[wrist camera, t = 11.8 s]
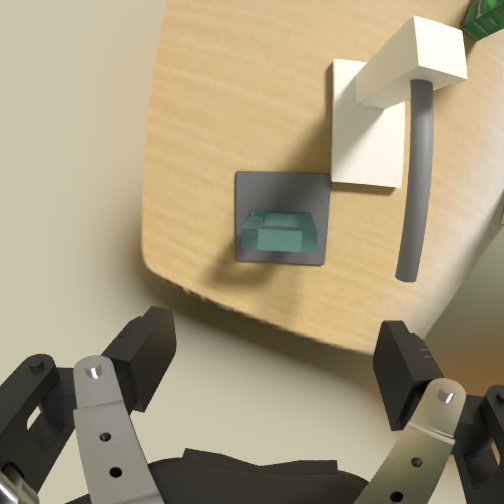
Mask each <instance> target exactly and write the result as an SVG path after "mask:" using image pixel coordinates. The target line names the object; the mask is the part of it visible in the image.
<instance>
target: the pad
mask: <svg viewBox="0 0 504 504" xmlns="http://www.w3.org/2000/svg"><path fill="white" fill-rule="evenodd" d="M330 185H331V175H321V174H305V173H285V172H258V171H237V174H236V260H240V261H259V262H278V263H297V264H318V265H324V261H325V251H326V240H327V228H328V215H329V201H330ZM252 210H274V211H295V212H311V215H312V217H313V220H314V222H315V225H316V227H317V230H318V243H317V253H308V252H288V251H268V250H248V249H242V228H243V226H244V224H245V222H246V221H247V219H248V217H249V216H251V212H252Z"/></svg>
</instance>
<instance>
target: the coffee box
mask: <svg viewBox="0 0 504 504" xmlns="http://www.w3.org/2000/svg"><path fill="white" fill-rule="evenodd" d="M461 27H462V29H463V30H465V31H466V32H467V33H468V34H469V35H470V36H471V37H473V38H474V39H475V40H477V41H479V40H481V39H483V38H484V37H487V36H489V35H491V34H493V33H495V32H497V31H499V30H501V29H503V28H504V0H472V2H471V4H470V7H469V9H468V11H467V14H466V16H465V18H464V21H463V23H462V26H461Z"/></svg>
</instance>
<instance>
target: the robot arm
mask: <svg viewBox="0 0 504 504" xmlns="http://www.w3.org/2000/svg"><path fill="white" fill-rule="evenodd" d="M175 352H176V335H175V326H174V317H173V311H172V309H171V308H168V307H160V306H151V307H150V308H149V310H148V311H147V312H146V313H145V314H144V316H143V317H141V316H139V317H137V318H135V319H133V320H132V321H130V322H129V323H128V324H127V325H126V326H125V327H124V328H123V331H121V332H120V333H119V334H118V336H117V337H116V338H115V339H114V340H113V341H112V342H111V343H110V345H109V346H108V347H107V348H106V349H105V351H104V352H103V353H102V354H101V355H100V356H99V355H97V356H96V355H94V356H89V357H86V358H83V359H81V360H80V361H79V362H77V364H76V365H75V366H74V368H59V367H58V368H57V367H56V365H55V362H54V360H53V358H52V357H51V356H49V355H46V354H36V355H33V356H30V357H28V358H27V359H25V360H24V361H23V362H22V363H21V364H20V366H18V368H17V369H16V370H15V371H14V372H13V373H12V374H11V375H10V376H9V377H8V378H7V379H6V380H5V381H4V383H3V384H2V385H1V386H0V504H39V498H38V495H37V494H38V492H39V490H40V488H41V486H42V485H43V483H44V481H45V479H46V477H47V476H48V474H49V472H50V470H51V468H52V467H53V465H54V463H55V461H56V460H57V458H58V456H59V454H60V453H61V451H62V449H63V448H64V446H65V444H66V442H67V441H68V439H69V437H70V436H71V434H72V432H73V431H74V429H75V428H76V435H77V441H78V446H79V451H80V456H81V461H82V466H83V470H84V474H85V478H86V483H87V487H88V491H89V494H86V495H84V496H82V497H79V498H77V499H75V500H73V501H70V502H68V503H65V504H428V502H429V500H430V498H431V496H432V494H433V492H434V490H435V488H436V486H437V484H438V481H439V479H440V477H441V475H442V473H443V470H444V468H445V466H446V463H447V461H448V458H449V456H450V454H452V455H454V458H455V461H456V465H457V468H458V471H459V475H460V479H461V483H462V486H463V490H464V494H465V499H466V503H467V504H504V385H494V386H491V387H490V388H489V389H488V391H487V392H486V394H485V396H484V397H482V396H473V395H466V393H465V390H464V389H463V387H462V386H461V385H460V384H458V383H457V382H455V381H453V380H451V379H447V378H444V376H443V375H442V373H441V371H440V369H439V367H438V366H437V364H436V362H435V360H434V359H433V357H432V355H431V353H430V352H429V350H428V348H427V347H426V345H425V343H424V341H423V340H422V339H421V338H419V337H418V336H417V335H416V334H414V333H409V331H408V329H407V327H406V326H405V324H404V322H403V321H383V322H382V324H381V328H380V332H379V336H378V340H377V344H376V348H375V351H374V356H373V369H374V372H375V375H376V379H377V382H378V385H379V388H380V392H381V395H382V399H383V402H384V405H385V409H386V413H387V415H388V420H389V423H390V427H391V431H399V430H403V432H402V434H401V435H400V437H399V439H398V440H397V442H396V443H395V445H394V447H393V448H392V450H391V451H390V453H389V455H388V456H387V458H386V459H385V461H384V462H383V464H382V465H381V467H380V468H379V469H378V471H377V472H376V474H375V475H374V477H373V478H372V479H371V481H370V482H368V481H366V480H365V479H363V478H361V477H359V476H357V475H354V474H351V473H348V472H344V471H340V470H337V469H338V468H337V460H317V461H316V460H299V461H293V462H287V463H280V464H273V465H266V466H258V465H254V464H250V463H247V462H244V461H241V460H238V459H235V458H232V457H229V456H226V455H223V454H218V453H212V452H205V451H199V450H193V449H188V448H185V451H184V454H183V457H182V458H169V459H163V460H159V461H156V462H152V463H150V464H148V463H147V460H146V458H145V456H144V453H143V451H142V448H141V446H140V443H139V440H138V438H137V435H136V433H135V430H134V427H133V424H132V421H131V419H130V414H131V412H132V410H135V411H139V412H143V413H144V412H145V410H146V408H147V406H148V404H149V402H150V401H151V399H152V397H153V395H154V393H155V391H156V389H157V387H158V386H159V384H160V382H161V380H162V378H163V376H164V374H165V372H166V371H167V369H168V367H169V365H170V363H171V361H172V359H173V357H174V355H175ZM37 406H38V407H39V409H40V411H41V413H40V414H39V416H38V417H37V418H36V420H35V421H34V423H33V424H32V425H31V427H30V428H29V430H28V429H27V421H28V418H29V417H30V415H31V414H32V413H33V411H34V410H35V408H36V407H37ZM494 442H495V444H496V447H497V449H498V451H499V455H500V463H499V466H498V463H497V461H496V458H495V456H494V453H493V450H492V448H491V446H492V444H493V443H494Z"/></svg>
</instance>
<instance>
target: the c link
mask: <svg viewBox="0 0 504 504" xmlns="http://www.w3.org/2000/svg"><path fill="white" fill-rule="evenodd" d="M317 243H318V230H317V227H316V225H315V222H314V220H313V217H312V215H311V212H295V211H274V210H252V212H251V216H249V217H248V219H247V221H246V222H245V224H244V226H243V228H242V249H248V250H268V251H288V252H308V253H317Z"/></svg>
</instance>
